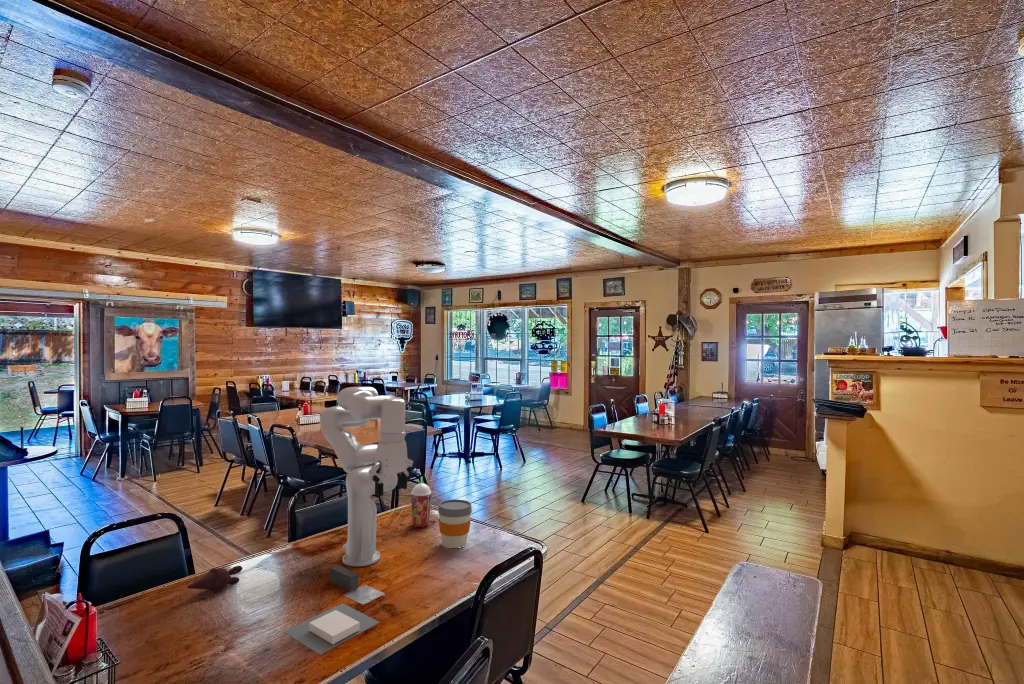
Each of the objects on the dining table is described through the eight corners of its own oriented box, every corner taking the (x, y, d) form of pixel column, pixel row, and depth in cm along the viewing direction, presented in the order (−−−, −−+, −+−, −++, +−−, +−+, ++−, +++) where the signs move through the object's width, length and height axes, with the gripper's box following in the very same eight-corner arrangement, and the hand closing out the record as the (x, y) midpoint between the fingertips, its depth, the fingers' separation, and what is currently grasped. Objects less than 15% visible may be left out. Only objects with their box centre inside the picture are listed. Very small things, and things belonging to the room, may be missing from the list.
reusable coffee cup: (453, 535, 201) (454, 497, 201) (477, 543, 194) (478, 503, 194) (430, 545, 191) (431, 505, 191) (455, 554, 184) (456, 512, 184)
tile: (309, 622, 132) (332, 636, 126) (335, 609, 139) (359, 622, 133) (309, 631, 132) (332, 645, 126) (335, 618, 139) (359, 631, 133)
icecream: (194, 583, 145) (248, 570, 156) (185, 569, 149) (238, 557, 161) (189, 605, 145) (243, 590, 157) (180, 590, 150) (233, 577, 162)
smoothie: (434, 523, 213) (435, 475, 213) (423, 530, 206) (424, 480, 206) (418, 520, 217) (419, 473, 217) (406, 526, 209) (407, 477, 209)
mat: (283, 633, 132) (283, 631, 132) (342, 605, 147) (342, 603, 147) (320, 657, 123) (320, 654, 123) (379, 624, 137) (379, 622, 137)
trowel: (322, 587, 157) (323, 571, 157) (344, 577, 164) (345, 562, 164) (362, 607, 146) (363, 589, 146) (384, 596, 153) (385, 579, 153)
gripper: (404, 432, 171) (403, 483, 171) (362, 439, 157) (361, 495, 157) (420, 435, 167) (419, 488, 167) (378, 443, 153) (377, 500, 153)
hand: (391, 491), depth 162 cm, fingers open, 9 cm apart
